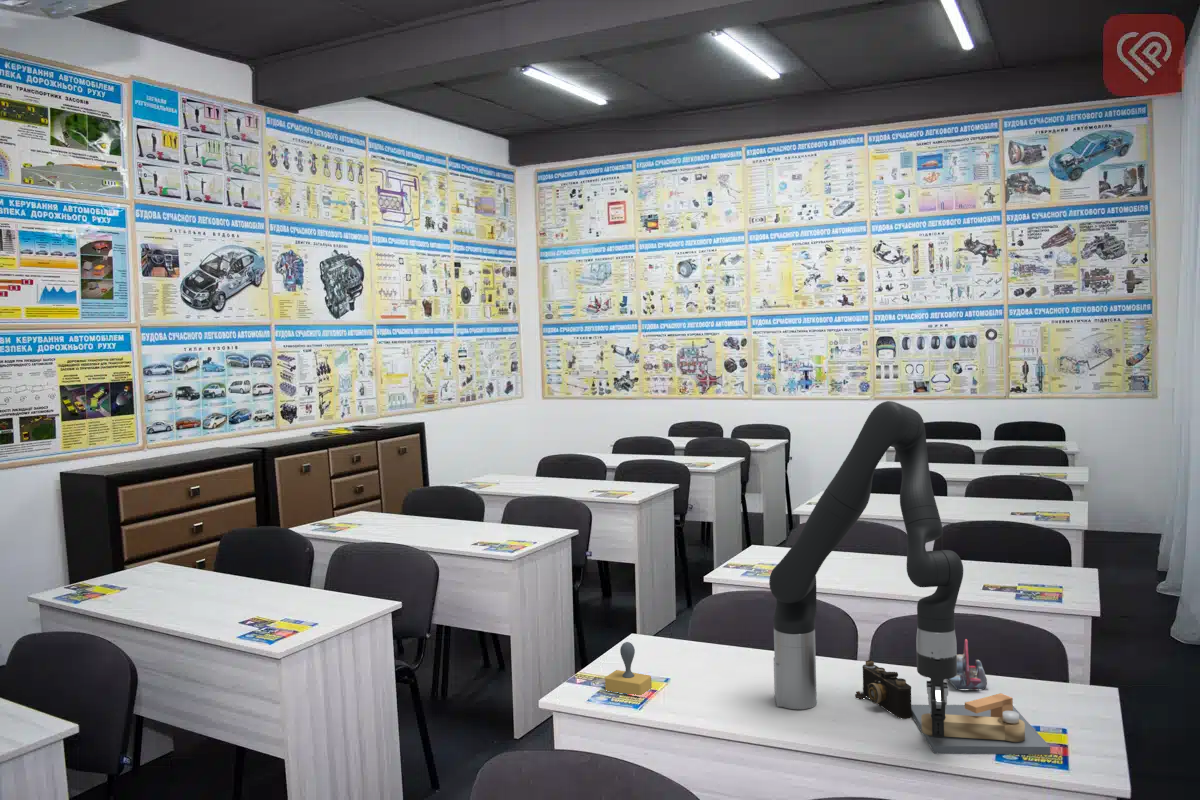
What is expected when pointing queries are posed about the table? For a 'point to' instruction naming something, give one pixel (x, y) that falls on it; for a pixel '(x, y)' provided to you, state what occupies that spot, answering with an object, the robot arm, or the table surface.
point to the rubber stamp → (628, 675)
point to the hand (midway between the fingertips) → (938, 736)
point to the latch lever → (977, 727)
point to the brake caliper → (968, 672)
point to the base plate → (982, 746)
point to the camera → (886, 690)
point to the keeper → (991, 704)
